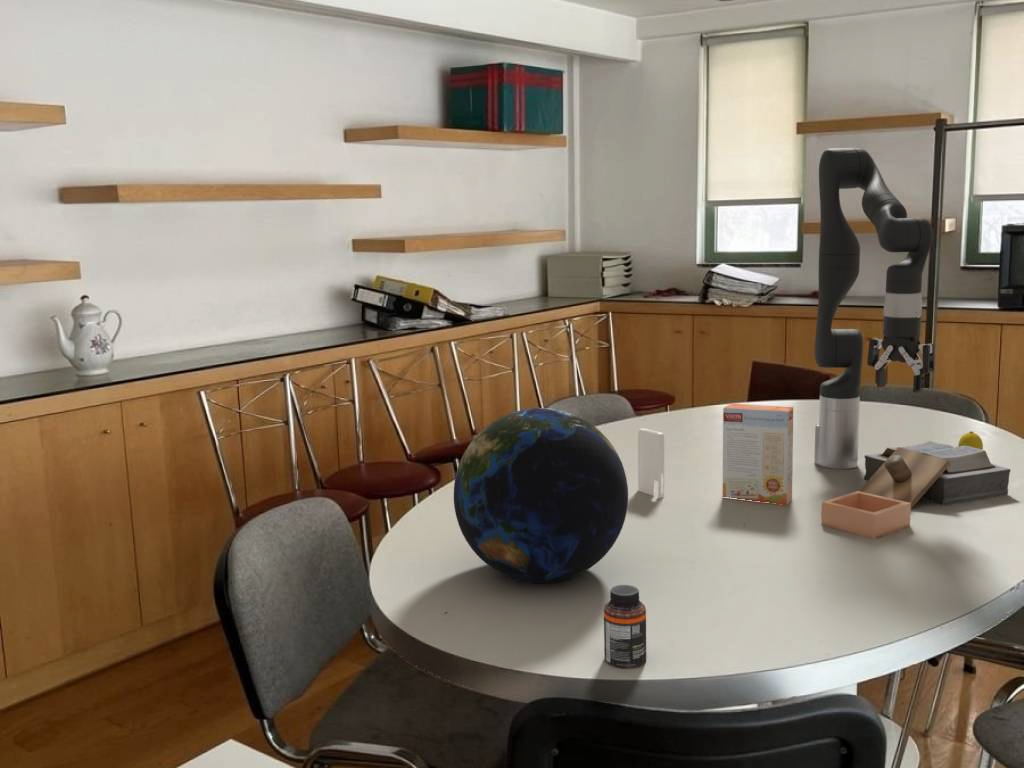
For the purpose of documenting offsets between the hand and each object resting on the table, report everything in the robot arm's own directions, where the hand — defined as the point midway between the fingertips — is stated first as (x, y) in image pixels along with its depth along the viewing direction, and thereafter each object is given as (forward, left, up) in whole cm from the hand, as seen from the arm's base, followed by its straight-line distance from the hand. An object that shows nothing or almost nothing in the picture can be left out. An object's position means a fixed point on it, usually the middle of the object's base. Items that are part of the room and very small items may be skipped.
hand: (899, 389), depth 224 cm
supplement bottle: (+22, -103, -24) cm, 108 cm away
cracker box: (-18, -24, -24) cm, 38 cm away
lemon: (-4, +39, -24) cm, 46 cm away
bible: (+2, +13, -24) cm, 28 cm away
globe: (-13, -89, -24) cm, 93 cm away
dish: (+8, -23, -24) cm, 34 cm away
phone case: (-36, -39, -24) cm, 58 cm away
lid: (+2, 0, -20) cm, 20 cm away
